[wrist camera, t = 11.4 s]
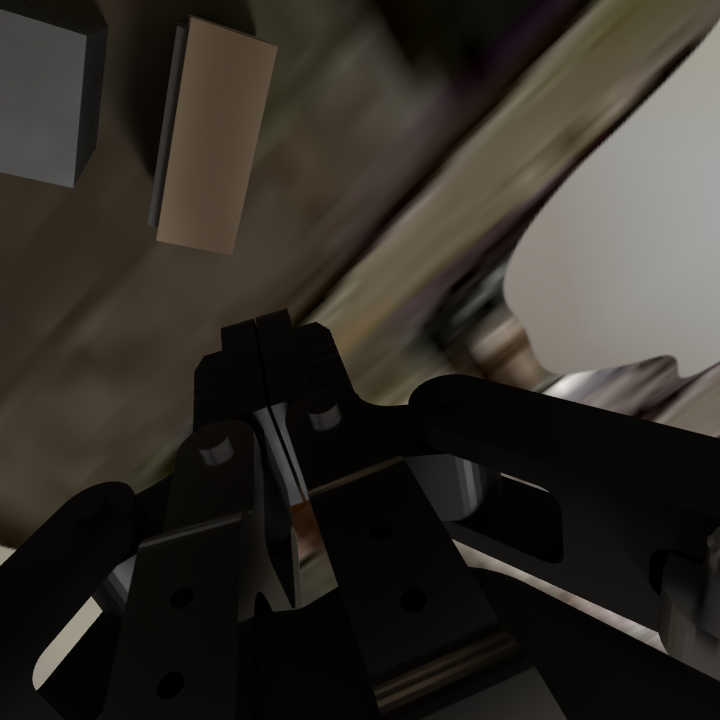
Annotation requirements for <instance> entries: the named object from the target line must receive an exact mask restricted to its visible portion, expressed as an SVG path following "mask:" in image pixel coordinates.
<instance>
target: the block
mask: <svg viewBox="0 0 720 720" xmlns="http://www.w3.org/2000/svg"><path fill="white" fill-rule="evenodd" d="M107 35H108V27H106V26H103V25H99V24H96V23H93V22H90V21H87V20H84V19H81V18H77V17H74V16H71V15H68V14H65V13H62V12H58V11H55V10H52V9H49V8H46V7H43V6H40V5H36V4H33V3H30V2H27V1H24V0H0V172H2V173H7V174H11V175H16V176H21V177H25V178H30V179H34V180H39V181H43V182H48V183H52V184H57V185H61V186H66V187H71V188H74V186H75V184H76V183H77V181H78V179H79V177H80V176H81V174H82V172H83V170H84V168H85V167H86V165H87V163H88V161H89V160H90V158H91V156H92V154H93V153H94V151H95V149H96V144H97V134H98V124H99V114H100V105H101V95H102V85H103V75H104V65H105V55H106V45H107Z"/></svg>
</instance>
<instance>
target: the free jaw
mask: <svg viewBox="0 0 720 720" xmlns="http://www.w3.org/2000/svg"><path fill="white" fill-rule="evenodd" d="M277 48H278V47H277V46H275V45H273V44H271V43H269V42H267V41H265V40H263V39H261V38H258V37H255V36H252V35H249V34H246V33H244V32H241V31H238V30H235V29H232V28H229V27H226V26H223V25H220V24H217V23H214V22H211V21H208V20H205V19H203V18H200V17H197V16H194V15H191V14H189V16H188V23H187V24H184V23H181V22H178V21H177V28H176V35H175V42H174V48H173V55H172V62H171V69H170V76H169V82H168V89H167V96H166V103H165V109H164V116H163V123H162V130H161V137H160V143H159V150H158V157H157V164H156V170H155V177H154V184H153V191H152V198H151V205H150V212H149V219H148V225H152V226H157V227H158V229H157V239H156V240H157V241H162V242H167V243H172V244H177V245H182V246H187V247H192V248H197V249H202V250H207V251H212V252H217V253H222V254H227V255H232V254H233V250H234V245H235V241H236V236H237V231H238V227H239V222H240V218H241V213H242V209H243V204H244V199H245V195H246V190H247V186H248V181H249V176H250V172H251V167H252V163H253V158H254V154H255V149H256V144H257V140H258V135H259V131H260V126H261V121H262V117H263V112H264V108H265V103H266V99H267V94H268V89H269V85H270V80H271V76H272V71H273V66H274V62H275V57H276V53H277Z"/></svg>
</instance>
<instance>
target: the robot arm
mask: <svg viewBox="0 0 720 720" xmlns="http://www.w3.org/2000/svg"><path fill="white" fill-rule="evenodd" d="M256 324H257V326H256ZM221 340H222V351H219V352H216V353H213V354H210V355H206V356H204V357H203V359H202V360H201V362H200V364H199V365H198V367H197V368H196V370H195V375H194V386H195V388H194V398H195V400H194V416H193V434H191V435H190V436H189V437H188V438H187V439H186V440H185V441H184V442H183V443H182V445H181V446H180V447H179V449H178V451H177V454H176V459H175V465H174V470H173V473H172V474H171V475H169V476H168V477H166V478H165V479H163V480H162V481H160V482H158V483H156V484H155V485H153V486H151V487H149V488H147V489H146V490H144V491H142V492H140V493H138V494H137V495H135V493H134V492H133V490H132V489H131V487H130V486H128V485H127V484H125V483H122V482H116V481H115V482H105V483H101V484H97V485H94V486H92V487H89V488H87V489H85V490H83V491H81V492H80V493H78V494H77V495H75V496H74V497H72V498H71V499H69V500H68V501H67V502H66V503H65V504H64V505H63V506H61V507H60V508H59V509H58V510H57V511H56V512H55V513H54V514H53V515H52V516H51V517H50V518H49V519H48V520H47V521H46V522H45V523H44V524H43V525H42V526H41V527H40V528H39V529H38V530H37V531H36V532H35V533H34V534H33V535H32V536H31V537H30V538H29V539H28V540H26V541H25V542H24V543H23V544H22V545H21V546H20V547H19V548H18V549H17V550H16V551H15V552H14V553H13V554H12V555H11V556H10V557H9V558H8V559H7V560H6V561H5V562H4V563H3V564H2V565H1V566H0V720H720V439H719V438H715V437H711V436H707V435H703V434H699V433H695V432H691V431H687V430H684V429H680V428H676V427H672V426H668V425H664V424H660V423H656V422H652V421H648V420H644V419H640V418H636V417H632V416H628V415H624V414H620V413H616V412H612V411H608V410H604V409H600V408H596V407H592V406H588V405H584V404H580V403H576V402H572V401H568V400H564V399H560V398H556V397H552V396H548V395H544V394H540V393H536V392H532V391H528V390H524V389H520V388H516V387H512V386H508V385H504V384H500V383H496V382H492V381H488V380H484V379H480V378H476V377H472V376H468V375H461V374H450V375H443V376H439V377H435V378H433V379H430V380H428V381H426V382H424V383H423V384H421V385H419V386H418V387H417V388H416V389H415V390H414V391H413V392H412V394H411V396H410V398H409V401H408V405H398V406H379V405H374V404H370V403H367V402H365V401H363V400H362V399H360V397H359V396H358V394H356V393H355V392H354V390H353V387H352V385H351V382H350V380H349V377H348V375H347V372H346V370H345V367H344V365H343V362H342V360H341V357H340V355H339V352H338V350H337V347H336V345H335V343H334V340H333V337H332V335H331V332H330V330H329V329H327V328H326V327H324V326H322V325H321V324H319V323H317V322H314V323H310V324H307V325H304V326H301V327H297V328H293V325H292V322H291V319H290V316H289V313H288V310H287V308H285V309H282V310H279V311H276V312H272V313H269V314H266V315H262V316H259V317H256V323H255V321H254V319H249V320H246V321H243V322H240V323H236V324H233V325H230V326H226V327H223V328H221ZM501 473H504V474H507V475H510V476H512V477H515V478H518V479H521V480H524V481H527V482H529V483H532V484H535V485H538V486H540V487H542V488H544V489H546V490H547V491H549V492H550V493H549V492H546V491H543V490H540V489H538V488H535V487H532V486H529V485H526V484H524V483H521V482H518V481H515V480H512V479H510V478H507V477H504V476H501ZM299 482H300V484H299ZM300 485H301V487H302V490H303V493H304V495H305V498H306V500H310V503H311V506H312V509H313V512H314V515H315V518H316V521H317V524H318V527H319V530H320V533H321V536H322V539H323V542H324V545H325V547H326V550H327V553H328V556H329V559H330V562H331V565H332V568H333V571H334V574H335V577H336V580H337V583H338V587H337V588H335V589H333V590H332V591H330V592H328V593H327V594H325V595H324V596H322V597H320V598H319V599H317V600H315V601H314V602H312V603H310V604H309V605H307V606H305V607H303V605H302V593H301V580H300V568H299V556H298V543H297V536H296V534H295V531H294V529H293V526H292V524H293V519H292V513H291V507H290V506H291V505H294V504H298V503H301V502H303V499H302V494H301V489H300ZM452 539H453V540H456V541H458V542H460V543H462V544H464V545H467V546H469V547H471V548H473V549H475V550H478V551H480V552H482V553H484V554H486V555H489V556H491V557H493V558H495V559H497V560H500V561H502V562H504V563H506V564H508V565H511V566H513V567H515V568H517V569H519V570H522V571H524V572H526V573H528V574H530V575H533V576H535V577H537V578H539V579H541V580H544V581H546V582H548V583H550V584H552V585H555V586H557V587H559V588H561V589H563V590H566V591H568V592H570V593H572V594H574V595H577V596H579V597H581V598H583V599H585V600H588V601H590V602H592V603H594V604H596V605H599V606H601V607H603V608H605V609H607V610H610V611H612V612H614V613H616V614H618V615H621V616H623V617H625V618H627V619H629V620H632V621H634V622H636V623H638V624H640V625H643V626H645V627H647V628H649V629H651V630H654V631H656V632H658V633H659V636H660V639H661V642H662V644H663V646H664V648H665V650H666V651H667V653H668V654H669V655H670V656H669V655H667V654H665V653H663V652H661V651H659V650H657V649H655V648H653V647H651V646H649V645H647V644H645V643H643V642H641V641H639V640H637V639H635V638H633V637H631V636H629V635H628V634H626V633H624V632H622V631H620V630H618V629H616V628H614V627H612V626H610V625H608V624H606V623H604V622H602V621H600V620H598V619H596V618H594V617H592V616H590V615H588V614H586V613H584V612H582V611H580V610H578V609H576V608H574V607H572V606H570V605H568V604H566V603H564V602H562V601H560V600H558V599H556V598H554V597H552V596H550V595H548V594H546V593H544V592H542V591H540V590H538V589H536V588H534V587H533V586H531V585H529V584H527V583H525V582H522V581H520V580H518V579H516V578H513V577H511V576H508V575H505V574H502V573H499V572H495V571H491V570H487V569H482V568H474V567H468V566H467V564H466V563H465V561H464V559H463V558H462V556H461V554H460V553H459V551H458V549H457V547H456V546H455V544H454V542H453V541H452ZM90 596H92V598H93V599H94V600H95V601H96V603H97V604H98V605H99V607H100V608H101V609H102V611H103V612H102V613H101V614H100V616H99V617H98V618H97V619H96V621H95V622H94V623H93V624H92V625H91V626H90V628H89V629H88V630H87V631H86V632H85V634H84V635H83V636H82V637H81V639H80V640H79V641H78V642H77V643H76V645H75V646H74V647H73V648H72V649H71V651H70V652H69V653H68V654H67V656H66V657H65V658H64V659H63V660H62V662H61V663H60V664H59V665H58V667H57V668H56V669H55V670H54V672H53V673H52V674H51V675H50V676H49V677H48V679H47V680H46V681H45V682H44V684H43V685H42V686H41V687H40V688H39V689H38V690H37V691H36V690H35V688H34V686H33V681H32V676H33V671H34V668H35V665H36V663H37V661H38V659H39V657H40V656H41V654H42V653H43V652H44V650H45V649H46V648H47V647H48V646H49V645H50V643H51V642H52V641H53V640H54V639H55V638H56V636H57V635H58V634H59V633H60V632H61V631H62V629H63V628H64V627H65V626H66V625H67V623H68V622H69V621H70V620H71V619H72V618H73V617H74V615H75V614H76V613H77V612H78V611H79V610H80V608H81V607H82V606H83V605H84V604H85V603H86V601H87V600H88V599H89V598H90Z"/></svg>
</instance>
